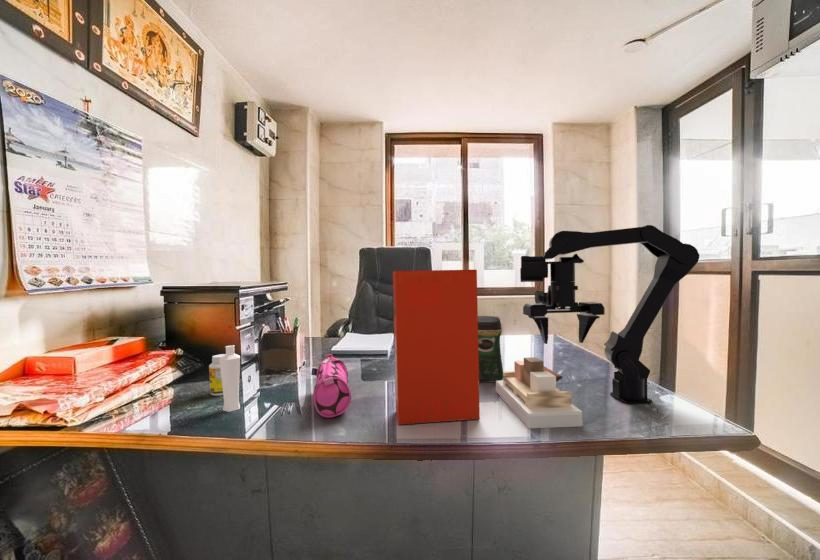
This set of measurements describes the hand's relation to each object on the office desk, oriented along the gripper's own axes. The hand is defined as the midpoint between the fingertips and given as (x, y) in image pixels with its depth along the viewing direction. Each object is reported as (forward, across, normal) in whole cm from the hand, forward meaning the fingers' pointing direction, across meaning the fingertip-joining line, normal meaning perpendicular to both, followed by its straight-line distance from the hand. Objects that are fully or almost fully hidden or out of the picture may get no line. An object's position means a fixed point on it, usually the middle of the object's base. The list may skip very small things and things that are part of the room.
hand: (563, 343), depth 90 cm
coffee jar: (+13, +16, -15) cm, 26 cm away
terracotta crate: (+8, +11, +2) cm, 14 cm away
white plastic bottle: (+13, +82, +1) cm, 83 cm away
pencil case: (+13, +59, 0) cm, 60 cm away
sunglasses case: (+14, +2, -11) cm, 18 cm away
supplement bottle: (+13, +90, -11) cm, 92 cm away
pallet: (+10, +11, +8) cm, 17 cm away
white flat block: (+13, +11, +8) cm, 19 cm away
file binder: (+13, +34, +10) cm, 38 cm away
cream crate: (+8, +11, +12) cm, 18 cm away
